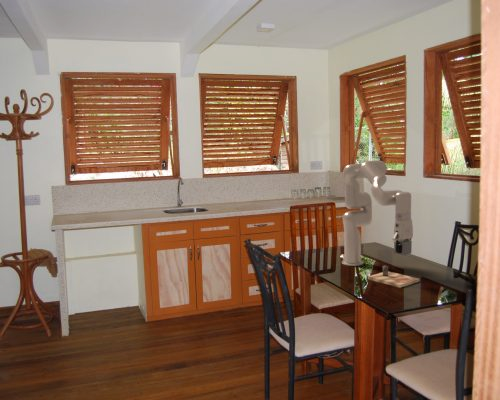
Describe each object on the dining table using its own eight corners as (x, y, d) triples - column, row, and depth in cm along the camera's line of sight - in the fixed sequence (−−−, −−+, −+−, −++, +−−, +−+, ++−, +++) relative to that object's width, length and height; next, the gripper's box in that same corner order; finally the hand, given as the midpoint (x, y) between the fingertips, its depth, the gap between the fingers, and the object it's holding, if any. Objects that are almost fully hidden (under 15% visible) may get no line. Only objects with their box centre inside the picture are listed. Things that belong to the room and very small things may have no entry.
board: (367, 279, 255) (368, 267, 254) (387, 273, 265) (387, 262, 264) (400, 287, 239) (400, 274, 238) (419, 281, 249) (419, 269, 248)
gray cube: (404, 255, 241) (404, 242, 241) (394, 253, 246) (394, 240, 245) (411, 253, 245) (411, 240, 244) (401, 251, 250) (401, 239, 249)
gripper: (398, 219, 235) (398, 255, 237) (419, 215, 246) (419, 250, 248) (386, 217, 241) (386, 253, 243) (407, 214, 252) (406, 248, 254)
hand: (402, 251), depth 246 cm, fingers closed on gray cube, 6 cm apart
